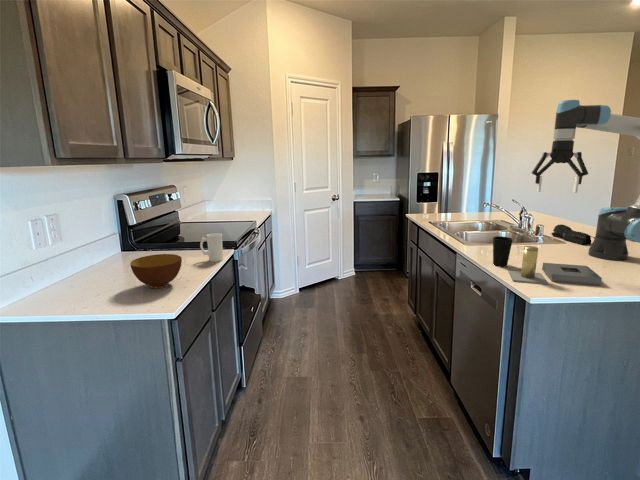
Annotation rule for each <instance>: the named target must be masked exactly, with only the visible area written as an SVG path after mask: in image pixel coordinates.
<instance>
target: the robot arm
mask: <svg viewBox="0 0 640 480" xmlns="http://www.w3.org/2000/svg"><path fill="white" fill-rule="evenodd" d="M580 103H581V102H580V100H579V99H565V100H564V99H563V100H560V101H559V102H558V103H557V106H556V110H555V120H554V130H553V131H554V132H553V138H552V139H553V141H552V144H551V145H552V146H551V151H550V152H546V151H544V152H542V154H541V158H540V159H539V161H538V162H537V163H536V165H535V166H534V168H533V169H532V171H531V174H532V175H534V176H535V184H537V189H536V192H538V193H540V192H541V190H542V182H543V176H542V175H543V173H544V172H546V171H547V170H548V168H550V167H551V166H552V165H554V164H566V163H567V164H568V166H570V167H571V169H572V170H573V171H574V173H575V174H576V175H577V176H575V178H574V184H573V191H572V192H573V193H578V190H579V185H582V182H583V181H582V180H583V177H584V176H587V175H589V172H588V169H587V167H586V164H585V162H584V160H583V158H582V157H583V155H582V154H583V153H582V151H577V152H574V145H575V141H574V140H575V138H576V130H577V129H578V128H579V129H586V130H591V131H592V130H594V131H597V132H598V131H599V132H606V133H611V134H618V135H623V136H624V135H625V136H632V137H635V138H636V139H638V140H640V117H634V116H628V115H622V114H615V113H612V110H611V107H610V106H609V105H607V104H606V105H604V104H592V105H582V104H580ZM549 157H550V160H549V161H548V162H547V163H546V164H544V162H545V161H546V159H547V158H549ZM572 157H574V158H576V161H577V163H578V166H579V168H580V169H579V168H578V167H577V165H576V164H575V162H574V161H573V160H572ZM543 164H544V166H543V167H542V165H543ZM595 231H596V232H595V236H594V237H595V239H594V238H593V241H592V242H591V244H590V247H589V248H588V252H587V253H588V255H589V256H591V257H594V258H598V259H603V260H609V261H610V260H613V261H624V260H623V259H626V260H628V259H629V251H628V245H627V241H628V242H629V241H630V242H632V243H639V244H640V194H639V195H638V198H637V200H636V201H635V203H634V204H631V205H628V207H602V208H600V209H599V213H598V215H597V224H596V229H595ZM627 258H628V259H627Z"/></svg>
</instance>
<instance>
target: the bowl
mask: <svg viewBox="0 0 640 480" xmlns="http://www.w3.org/2000/svg"><path fill="white" fill-rule="evenodd" d="M182 260H183V259H182V257H181V256H180V255H178V254H172V253H160V254H159V253H157V254H150V255H146V256H145V255H144V256H141V257H137V258H135V259H133V260H131V262H130V264H129V265H130V268H131V272H132V273H133V275H134V276H135V277H136V279H137V280H138V281H139V282H141V283H142V284H143V285H147V286H150V288H151V289H162V288H166V287H168V285H169V283H172V281H174V279H176V277H177V276H178V274H179V272H180V271H181V268H182Z"/></svg>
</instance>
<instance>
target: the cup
mask: <svg viewBox="0 0 640 480" xmlns="http://www.w3.org/2000/svg"><path fill="white" fill-rule="evenodd" d="M513 241H514V240H513V238H511V237H508V236H498V235H497V236H493V237H492V265H493V264H494V265H495V267H498V266H500V267H499V268H506V267H508V262H509V258H510V252H511V249H512V244H513ZM494 265H493V266H494Z"/></svg>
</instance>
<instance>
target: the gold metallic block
mask: <svg viewBox="0 0 640 480" xmlns="http://www.w3.org/2000/svg"><path fill="white" fill-rule="evenodd" d="M538 254H539V247H537V246H533V245H525V246H524V247H523V256H522V264H521V269H520V270H521V271H520V272H521V277H523V278H528V279H533V278H535V273H536V271H537V270H536V269H537V262H538V256H539V255H538Z"/></svg>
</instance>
